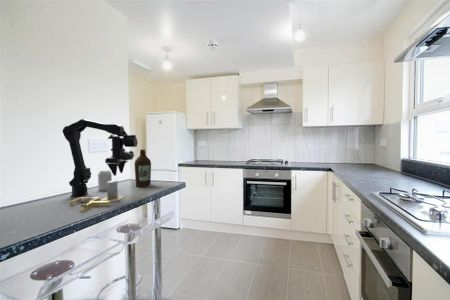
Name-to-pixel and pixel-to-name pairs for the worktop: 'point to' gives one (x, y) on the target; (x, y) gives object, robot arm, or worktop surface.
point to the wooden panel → (112, 199)
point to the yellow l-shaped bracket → (94, 204)
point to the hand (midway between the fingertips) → (118, 174)
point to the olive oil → (143, 170)
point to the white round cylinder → (112, 190)
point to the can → (104, 179)
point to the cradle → (84, 200)
